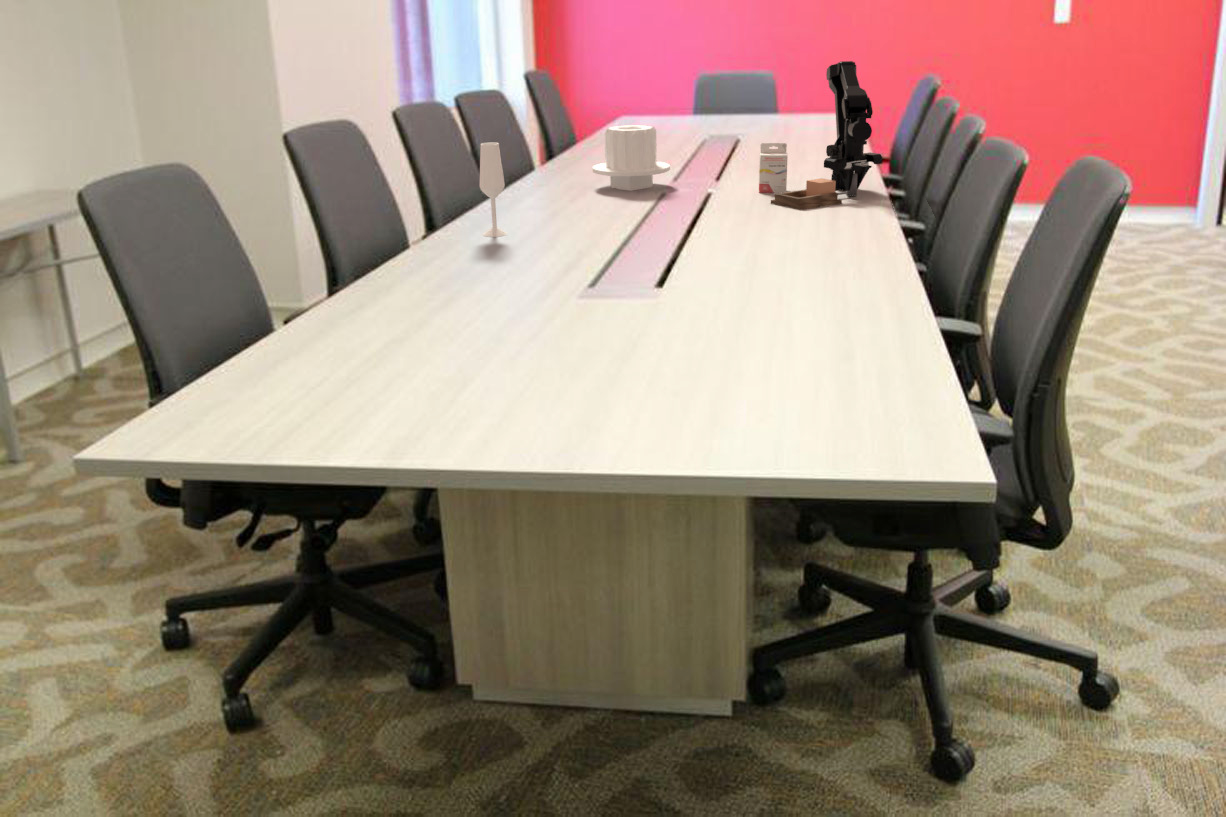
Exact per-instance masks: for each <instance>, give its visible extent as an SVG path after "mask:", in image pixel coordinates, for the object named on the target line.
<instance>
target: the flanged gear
mask: <svg viewBox="0 0 1226 817" xmlns="http://www.w3.org/2000/svg"><path fill="white" fill-rule="evenodd" d="M604 145H605V146H604V151H605V154H604V156H605V162H602V163H598V164H595V165H592V173H594V174H596V175H600V176H607V177H608V176H609V177H610V179H609V181H610V188H611V189H617V190H622V191H626V192H627V191H628V192H634V191H639V190H644V189H650V188H653V186H654V185H653V184H654V183H653V178H654V177H653V175H659V174H665V173H668V172H669V171H670V170H671V164H669V163H667V162H664V161H657V160H658V158H657V129H656V128H655V127H654V126H650V125H642V124H640V125H639V124H636V125H635V124H632V125H628V124H627V125H617V126H616V125H615V126H610V127H607V128H606V129H605V132H604Z"/></svg>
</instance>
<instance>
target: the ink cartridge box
mask: <svg viewBox="0 0 1226 817" xmlns="http://www.w3.org/2000/svg"><path fill="white" fill-rule="evenodd" d="M787 146H788V145H787V142H780V143H779V142H765V143H764V142H761V144H760V153H759V165H758V167H759V170H758V171H759V172H758V173H759V174H758V193H759V194H762V193H763V194H768V193H769V194H773V193H774V194H778V193H785V192H787V186H788V185H787V184H788V181H787V178H788V152H787V149H788V148H787ZM773 147H775V148H773Z"/></svg>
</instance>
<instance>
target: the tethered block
mask: <svg viewBox="0 0 1226 817" xmlns="http://www.w3.org/2000/svg"><path fill="white" fill-rule="evenodd" d="M857 178H858V174H857V173H853V177H852V182H851V187H850V190H849V191H847V190H845V191H840V192H837V193H838V196H839V195H840V196H842V195H846V196H847V197H857V195H858V193H857V192H858V189H857ZM805 185H806V187H805V188H806V197H807V196H814V195H820V194H827V193H833V192H836V189H835V186H836V181H834V180H831V179H827V178H823V177H822V178H816V179H809V180H808V179H807V180H806V184H805Z"/></svg>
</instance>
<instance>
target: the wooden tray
mask: <svg viewBox="0 0 1226 817" xmlns="http://www.w3.org/2000/svg"><path fill="white" fill-rule="evenodd" d="M838 193H839V192H836V191H835V192H833V193H827V194H820V195H814V196H807V197H806V189H800V190H793V191H786V192H785V193H774V199H770V204H772V205H777V206H781V207H787V208H791V209H796V210H799V211H804V210H805V211H806V210H811V209H817V208H823V207H830V206H837V205H842V204H843V202H842V199H839V198H838V197H839V195H838Z"/></svg>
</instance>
